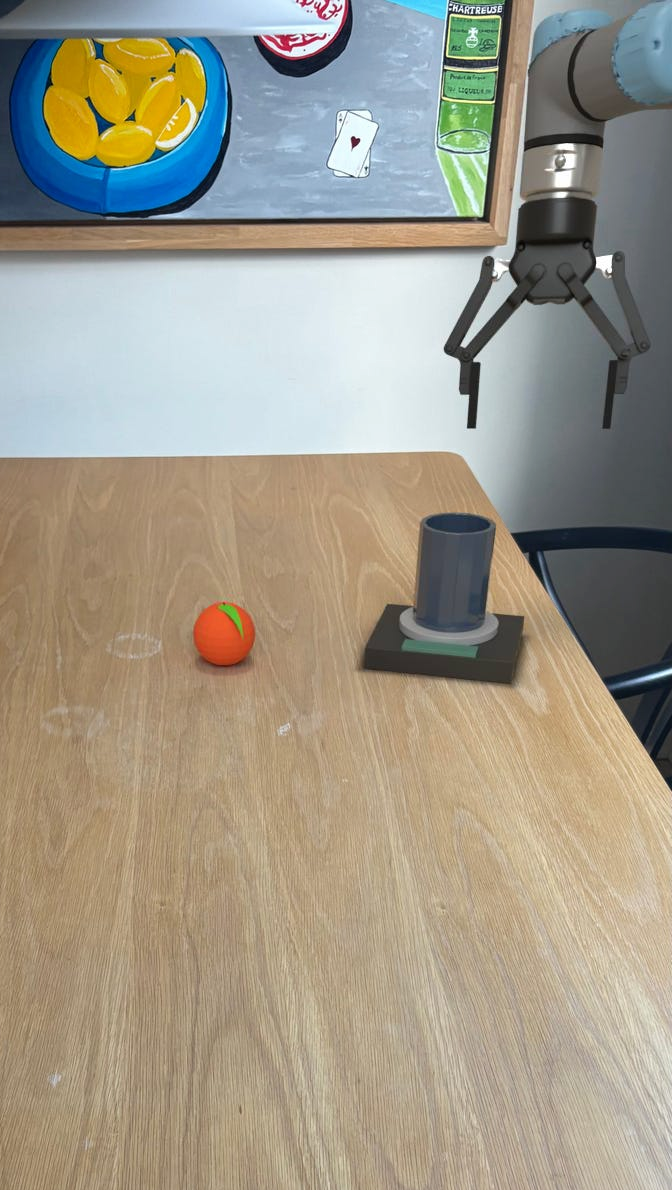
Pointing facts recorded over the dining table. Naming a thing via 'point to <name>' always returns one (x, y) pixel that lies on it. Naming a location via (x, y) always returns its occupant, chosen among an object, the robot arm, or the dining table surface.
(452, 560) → the cup
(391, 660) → the scale
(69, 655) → the dining table surface
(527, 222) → the robot arm
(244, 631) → the clementine
